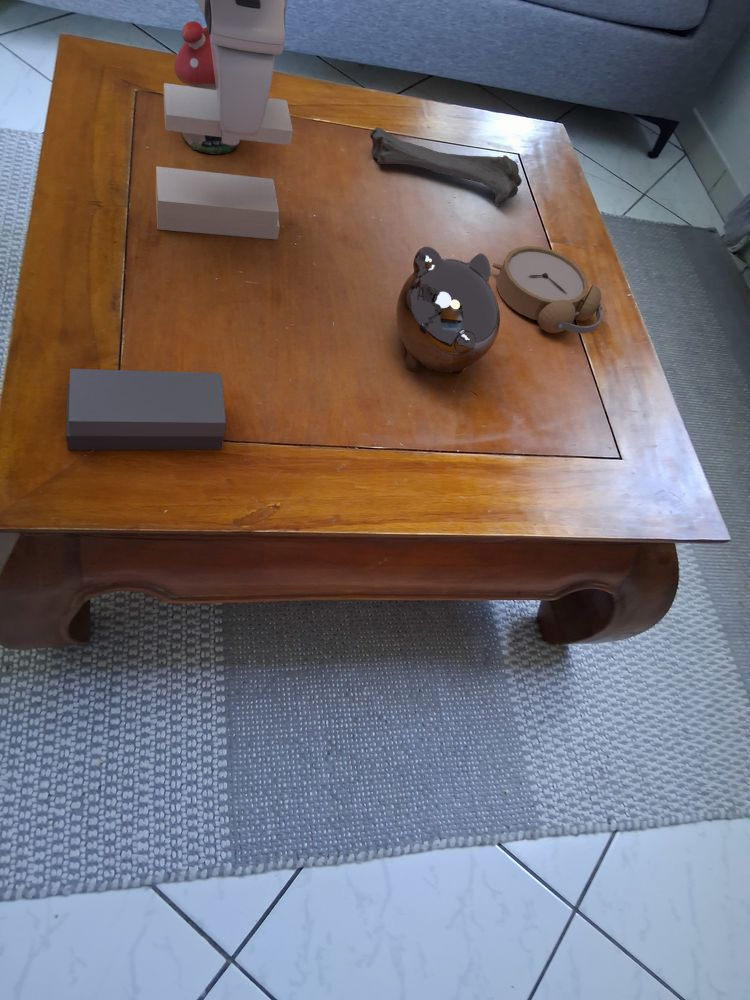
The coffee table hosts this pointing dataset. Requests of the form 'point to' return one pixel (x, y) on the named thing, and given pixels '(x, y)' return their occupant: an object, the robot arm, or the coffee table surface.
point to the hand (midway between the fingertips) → (227, 121)
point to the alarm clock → (548, 289)
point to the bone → (450, 164)
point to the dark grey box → (144, 410)
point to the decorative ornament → (198, 79)
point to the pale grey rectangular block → (201, 116)
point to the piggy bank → (447, 312)
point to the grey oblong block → (216, 203)
